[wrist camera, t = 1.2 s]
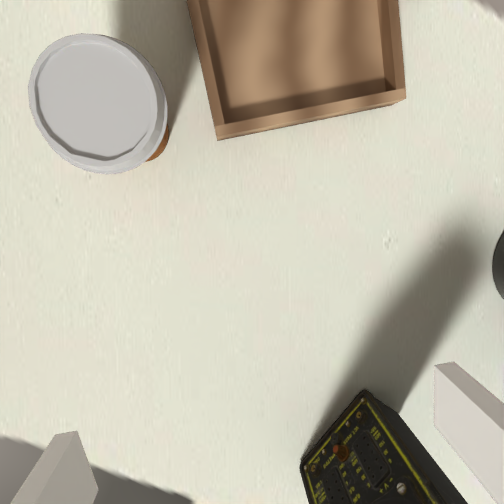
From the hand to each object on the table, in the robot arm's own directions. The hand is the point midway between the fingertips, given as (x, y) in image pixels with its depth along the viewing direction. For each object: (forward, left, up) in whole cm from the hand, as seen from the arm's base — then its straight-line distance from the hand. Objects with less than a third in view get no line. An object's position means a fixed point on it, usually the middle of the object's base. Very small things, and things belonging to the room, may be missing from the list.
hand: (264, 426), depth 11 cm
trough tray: (-11, -21, -26) cm, 36 cm away
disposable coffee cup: (+7, -16, -27) cm, 32 cm away
